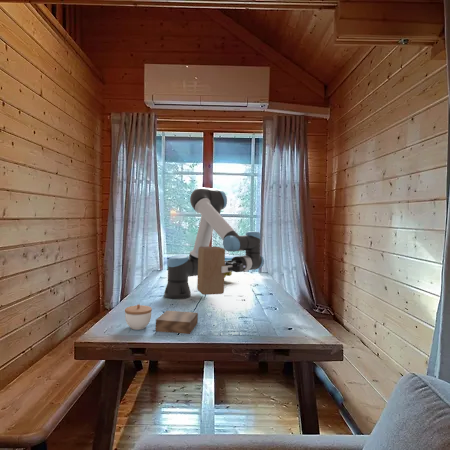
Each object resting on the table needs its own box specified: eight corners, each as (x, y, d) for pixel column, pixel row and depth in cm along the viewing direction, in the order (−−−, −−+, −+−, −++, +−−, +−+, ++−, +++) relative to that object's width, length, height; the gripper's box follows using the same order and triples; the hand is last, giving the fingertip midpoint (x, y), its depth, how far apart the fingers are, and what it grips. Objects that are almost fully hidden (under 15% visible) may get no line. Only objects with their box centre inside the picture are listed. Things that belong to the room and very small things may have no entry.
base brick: (155, 332, 137) (155, 319, 137) (166, 321, 151) (166, 310, 150) (189, 334, 135) (190, 322, 135) (197, 324, 149) (197, 312, 148)
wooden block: (224, 294, 149) (225, 248, 148) (202, 295, 146) (203, 248, 145) (217, 289, 158) (219, 246, 158) (196, 290, 155) (197, 246, 155)
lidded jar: (135, 321, 148) (136, 300, 148) (156, 325, 144) (157, 303, 144) (118, 329, 138) (119, 305, 138) (140, 333, 134) (141, 309, 134)
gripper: (261, 274, 159) (231, 280, 143) (221, 268, 176) (191, 272, 159) (261, 258, 159) (232, 262, 143) (222, 253, 175) (191, 256, 159)
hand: (210, 267), depth 151 cm, fingers closed on wooden block, 13 cm apart
